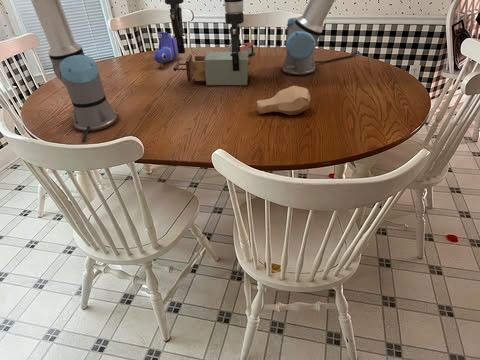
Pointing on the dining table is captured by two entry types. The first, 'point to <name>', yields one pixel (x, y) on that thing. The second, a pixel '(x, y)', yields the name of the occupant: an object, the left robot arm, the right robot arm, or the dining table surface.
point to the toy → (166, 49)
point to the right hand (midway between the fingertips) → (236, 66)
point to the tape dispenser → (245, 48)
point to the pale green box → (225, 69)
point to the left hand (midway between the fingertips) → (181, 52)
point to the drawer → (194, 68)
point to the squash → (286, 101)
